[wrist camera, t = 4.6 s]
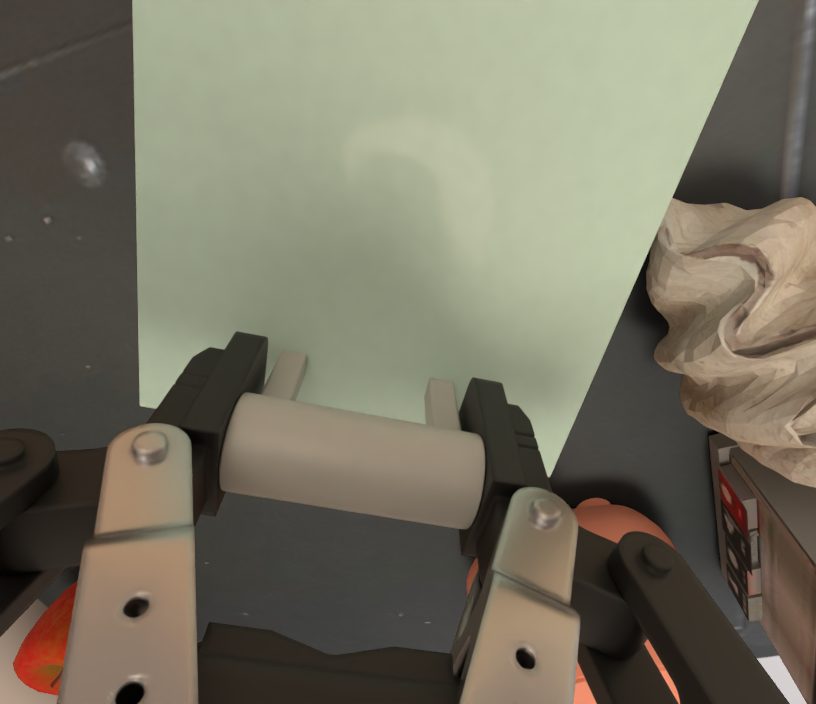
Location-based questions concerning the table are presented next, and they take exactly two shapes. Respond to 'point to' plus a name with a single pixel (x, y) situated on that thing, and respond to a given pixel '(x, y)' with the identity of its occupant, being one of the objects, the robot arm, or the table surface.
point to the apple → (47, 646)
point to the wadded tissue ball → (743, 324)
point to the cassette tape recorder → (769, 553)
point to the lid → (405, 218)
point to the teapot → (613, 526)
